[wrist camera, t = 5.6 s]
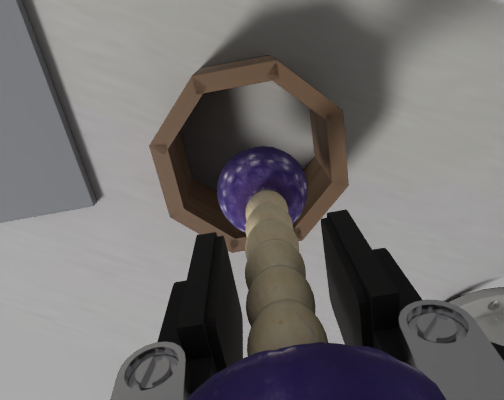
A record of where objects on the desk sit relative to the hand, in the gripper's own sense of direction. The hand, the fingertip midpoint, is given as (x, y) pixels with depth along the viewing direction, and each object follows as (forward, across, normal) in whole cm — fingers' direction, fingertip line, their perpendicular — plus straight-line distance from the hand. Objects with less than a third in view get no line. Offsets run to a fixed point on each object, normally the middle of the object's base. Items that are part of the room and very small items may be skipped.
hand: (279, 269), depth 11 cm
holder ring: (+13, 0, -1) cm, 13 cm away
